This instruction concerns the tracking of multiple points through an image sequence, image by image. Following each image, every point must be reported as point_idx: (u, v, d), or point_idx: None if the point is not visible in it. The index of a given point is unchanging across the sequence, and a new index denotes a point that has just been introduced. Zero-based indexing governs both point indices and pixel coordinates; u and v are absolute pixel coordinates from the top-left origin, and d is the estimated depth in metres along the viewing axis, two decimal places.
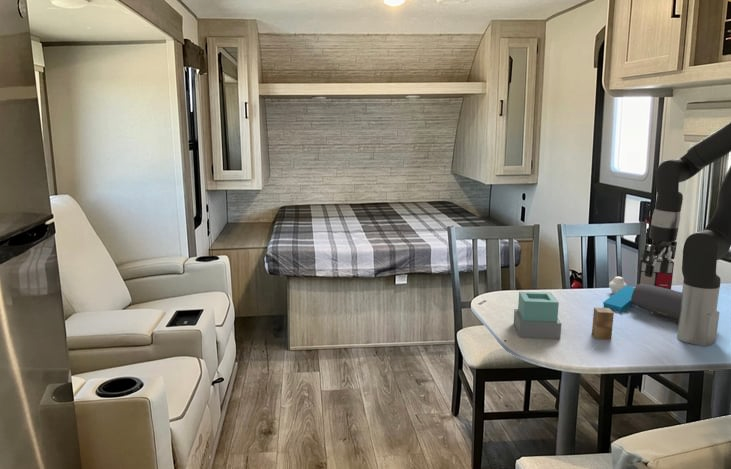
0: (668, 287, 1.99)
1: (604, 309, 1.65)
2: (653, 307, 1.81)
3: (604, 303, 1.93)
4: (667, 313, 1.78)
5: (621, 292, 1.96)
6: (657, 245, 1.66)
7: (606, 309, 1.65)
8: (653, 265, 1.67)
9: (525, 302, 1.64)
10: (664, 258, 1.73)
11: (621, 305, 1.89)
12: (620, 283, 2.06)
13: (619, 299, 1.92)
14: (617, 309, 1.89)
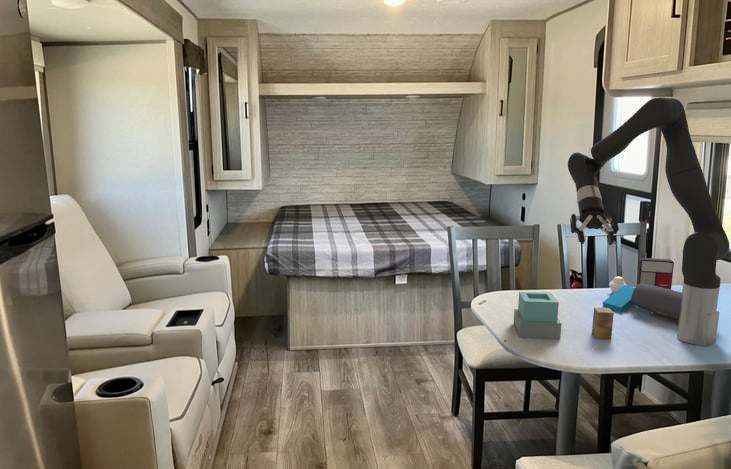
0: (668, 287, 1.99)
1: (604, 309, 1.65)
2: (653, 307, 1.81)
3: (603, 303, 1.93)
4: (667, 313, 1.78)
5: (620, 292, 1.96)
6: (580, 215, 1.78)
7: (606, 309, 1.65)
8: (580, 230, 1.74)
9: (525, 302, 1.64)
10: (608, 232, 1.75)
11: (621, 305, 1.89)
12: (620, 283, 2.06)
13: (618, 299, 1.92)
14: (617, 309, 1.89)
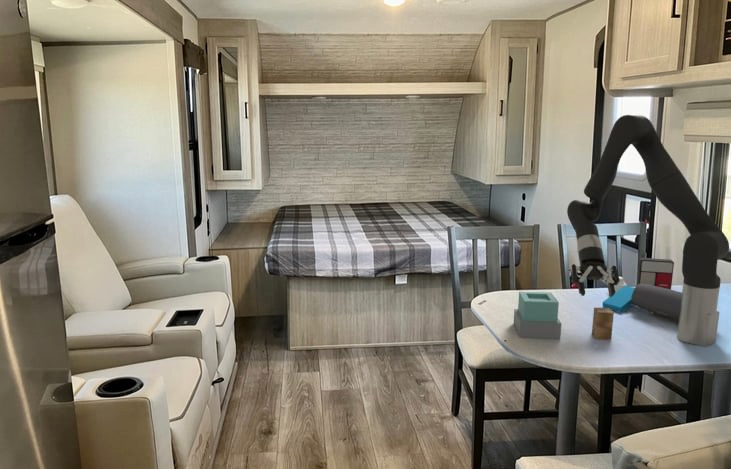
0: (668, 287, 1.99)
1: (604, 309, 1.65)
2: (653, 307, 1.81)
3: (603, 303, 1.93)
4: (667, 313, 1.78)
5: (620, 292, 1.96)
6: (581, 265, 1.76)
7: (606, 309, 1.65)
8: (581, 281, 1.73)
9: (525, 302, 1.64)
10: (608, 283, 1.73)
11: (620, 305, 1.88)
12: (620, 283, 2.06)
13: (618, 299, 1.92)
14: (616, 309, 1.89)
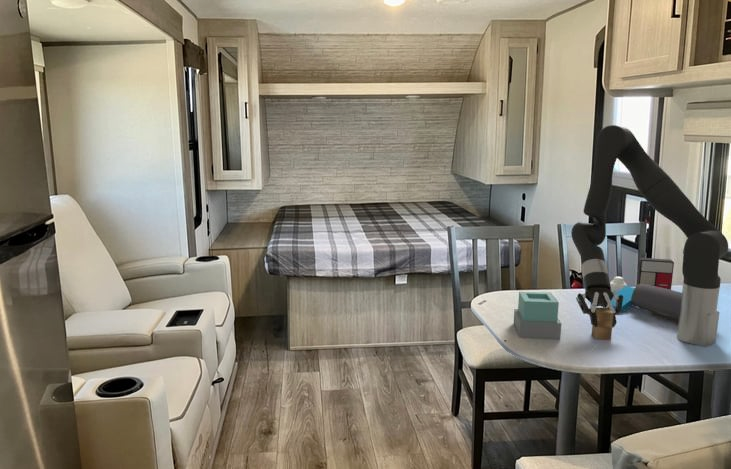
0: (668, 287, 1.99)
1: (604, 309, 1.65)
2: (653, 307, 1.81)
3: None
4: (667, 313, 1.78)
5: (621, 292, 1.96)
6: (586, 292, 1.69)
7: (606, 309, 1.65)
8: (593, 311, 1.65)
9: (525, 302, 1.64)
10: None
11: None
12: (620, 283, 2.06)
13: None
14: None
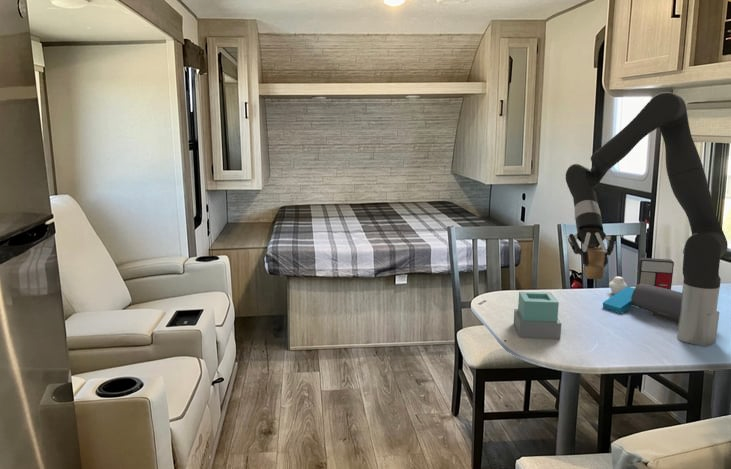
0: (668, 287, 1.99)
1: (595, 248, 1.63)
2: (653, 307, 1.81)
3: (603, 304, 1.92)
4: (667, 313, 1.78)
5: (621, 293, 1.95)
6: (578, 233, 1.67)
7: (597, 248, 1.63)
8: (585, 251, 1.63)
9: (525, 302, 1.64)
10: None
11: (620, 306, 1.88)
12: (620, 283, 2.06)
13: (618, 300, 1.91)
14: (616, 310, 1.88)
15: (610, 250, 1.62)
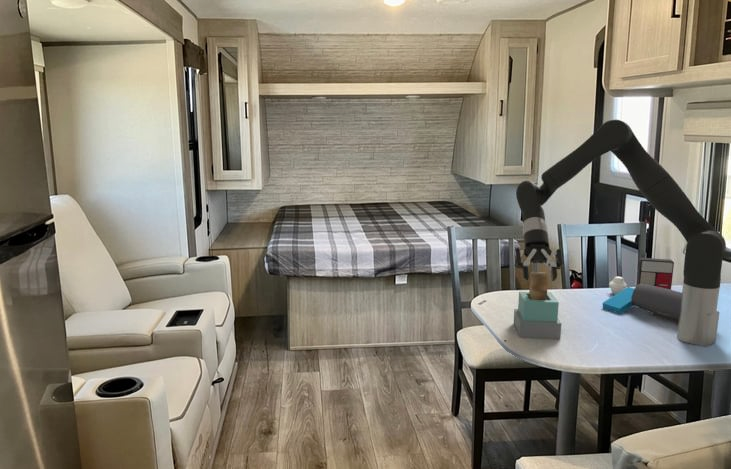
0: (668, 287, 1.99)
1: (540, 273, 1.68)
2: (653, 307, 1.81)
3: (603, 304, 1.92)
4: (667, 313, 1.78)
5: (622, 293, 1.95)
6: (525, 249, 1.71)
7: (542, 273, 1.68)
8: (525, 265, 1.68)
9: (525, 302, 1.64)
10: (551, 267, 1.68)
11: (620, 306, 1.87)
12: (620, 283, 2.06)
13: (618, 300, 1.91)
14: (616, 310, 1.88)
15: (560, 264, 1.67)
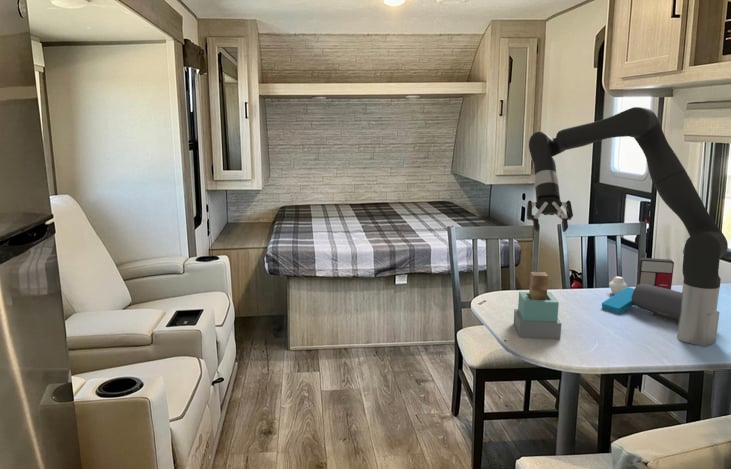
0: (668, 287, 1.99)
1: (540, 273, 1.68)
2: (653, 307, 1.81)
3: (602, 304, 1.92)
4: (667, 313, 1.78)
5: (621, 293, 1.94)
6: (537, 201, 1.81)
7: (542, 273, 1.68)
8: (535, 218, 1.78)
9: (525, 302, 1.64)
10: (562, 218, 1.79)
11: (619, 306, 1.87)
12: (620, 283, 2.06)
13: (618, 301, 1.91)
14: (615, 310, 1.88)
15: (571, 216, 1.77)
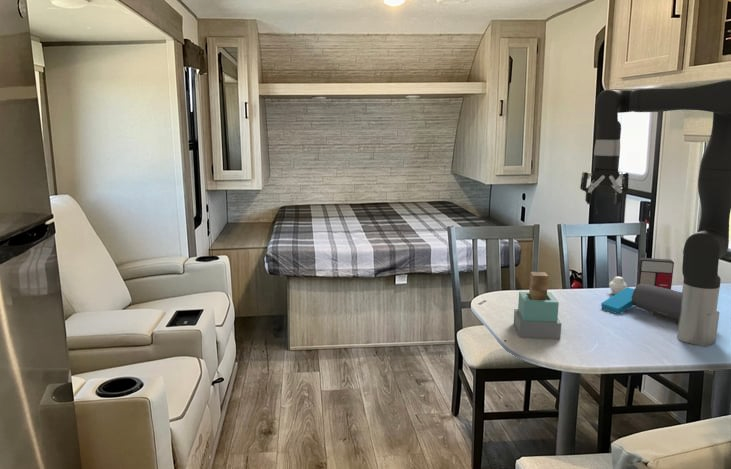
0: (668, 287, 1.99)
1: (540, 273, 1.68)
2: (653, 307, 1.81)
3: (602, 304, 1.92)
4: (667, 313, 1.77)
5: (621, 294, 1.94)
6: (593, 173, 1.75)
7: (542, 273, 1.68)
8: (589, 192, 1.76)
9: (525, 302, 1.64)
10: None
11: (618, 306, 1.87)
12: (620, 283, 2.06)
13: (617, 301, 1.90)
14: (614, 310, 1.88)
15: (625, 190, 1.75)
